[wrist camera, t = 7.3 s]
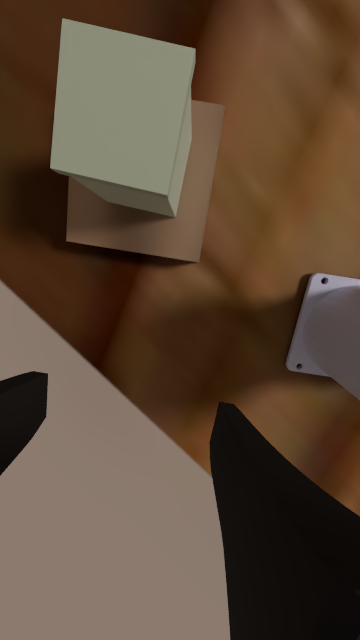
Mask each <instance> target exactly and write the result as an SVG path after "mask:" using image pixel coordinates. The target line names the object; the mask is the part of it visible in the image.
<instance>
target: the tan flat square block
mask: <svg viewBox="0 0 360 640" xmlns="http://www.w3.org/2000/svg"><path fill="white" fill-rule="evenodd" d="M225 106H226V105H220V104H214V103H207V102H201V101H195V100H191V123H192V140H191V145H190V150H189V155H188V160H187V164H186V169H185V174H184V179H183V184H182V189H181V194H180V199H179V204H178V208H177V213H176V217H171V216H167V215H163V214H158V213H154V212H150V211H145V210H141V209H137V208H132V207H128V206H124V205H119V204H115V203H111V202H107V201H106V200H104V199H103V198H101V197H100V196H98V195H97V194H96V193H94V192H93V191H91V190H90V189H88V188H87V187H85V186H84V185H83V184H81V183H80V182H78V181H77V180H75V179H74V178H72V177H71V176H69V187H68V211H67V235H66V241H69V242H75V243H81V244H87V245H93V246H99V247H105V248H112V249H118V250H124V251H130V252H136V253H143V254H149V255H155V256H161V257H167V258H174V259H180V260H186V261H192V262H199V259H200V253H201V247H202V241H203V235H204V229H205V223H206V218H207V212H208V206H209V200H210V194H211V188H212V182H213V176H214V171H215V165H216V159H217V153H218V147H219V141H220V135H221V129H222V124H223V118H224V112H225Z"/></svg>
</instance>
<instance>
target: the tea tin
mask: <svg viewBox="0 0 360 640" xmlns="http://www.w3.org/2000/svg"><path fill="white" fill-rule="evenodd" d="M194 67H195V49H194V48H189V47H185V46H181V45H176V44H172V43H168V42H163V41H159V40H155V39H150V38H146V37H142V36H137V35H133V34H129V33H124V32H120V31H115V30H111V29H107V28H102V27H98V26H94V25H89V24H85V23H81V22H76V21H72V20H68V19H63V18H62V29H61V41H60V54H59V66H58V78H57V90H56V103H55V115H54V127H53V139H52V152H51V164H50V168H51V169H52V170H54V171H55V172H57V173H59V174H63V175H67V176H71V177H72V178H74V179H75V180H77V181H78V182H80V183H81V184H83V185H84V186H85V187H87V188H88V189H90V190H91V191H93V192H94V193H96V194H97V195H98V196H100V197H101V198H103V199H104V200H106V201H107V202H111V203H115V204H119V205H124V206H128V207H132V208H137V209H141V210H145V211H150V212H154V213H158V214H163V215H167V216H171V217H176V213H177V208H178V204H179V199H180V194H181V189H182V184H183V179H184V174H185V169H186V164H187V160H188V155H189V150H190V145H191V140H192V123H191V82H192V77H193V72H194Z"/></svg>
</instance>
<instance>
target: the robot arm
mask: <svg viewBox="0 0 360 640" xmlns="http://www.w3.org/2000/svg"><path fill="white" fill-rule="evenodd" d="M322 278H325V283H323V284H322V283H321V280H322ZM297 364H301V365H300V367H296V366H297ZM286 367H287V368H288V369H289V370H290V371H295V372H302V373H308V374H315V375H321V376H328V377H332V378H333V379H334V380H335V381H336V382H338V383H339V384H340V385H341V386H343V387H344V388H345V389H346V390H348V391H349V392H350V393H351V394H352V395H354V396H355V397H356V398H357V399H359V400H360V279H354V278H347V277H341V276H335V275H328V274H322V273H314V274H312V275H311V276H310V278H309V281H308V285H307V288H306V292H305V296H304V299H303V303H302V306H301V310H300V314H299V317H298V321H297V324H296V328H295V331H294V335H293V339H292V342H291V346H290V349H289V353H288V357H287V360H286ZM47 385H48V374H46V373H40V372H35V371H33V372H28V373H24V374H21V375H18V376H14V377H11V378H8V379H5V380H2V381H0V475H1V474H2V473H3V472H4V471H5V469H6V468H7V467H8V466H9V465H10V464H11V463H12V461H13V460H14V459H15V458H16V457H17V456H18V454H19V453H20V452H21V451H22V450H23V448H24V447H25V446H26V445H27V444H28V442H29V441H30V440H31V439H32V437H33V436H34V434H35V433H36V432H37V430H38V428H39V427H40V425H41V424H42V422H43V421H44V419H45V418H46V408H47ZM210 462H211V472H212V478H213V484H214V490H215V496H216V502H217V508H218V514H219V520H220V525H221V532H222V540H223V546H224V558H225V571H226V582H227V596H228V608H229V609H228V610H229V623H230V639H231V640H360V516H358V515H357V514H355V513H354V512H352V511H351V510H350V509H348V508H347V507H345V506H344V505H343V504H341V503H340V502H339V501H337V500H336V499H334V498H333V497H332V496H330V495H329V494H328V493H326V492H325V491H324V490H322V489H321V488H320V487H319V486H317V485H316V484H315V483H313V482H312V481H311V480H310V479H309V478H307V477H306V476H305V475H304V474H303V473H302V472H300V471H299V470H298V469H297V468H296V467H294V466H293V465H292V464H291V463H290V462H289V461H288V460H287V459H286V458H285V457H284V456H282V455H281V454H280V453H279V452H278V451H277V450H276V449H275V448H274V447H273V446H272V445H271V444H270V443H269V442H268V441H267V440H266V439H265V438H264V437H263V436H262V435H261V433H260V432H259V431H258V430H257V429H256V428H255V427H254V426H253V425H252V424H251V422H250V421H249V420H248V419H247V418H246V417H245V416H244V415H243V414H242V412H241V411H240V410H239V409H238V408H237V407H236V406H235V405H234V404H230V403H224V402H219V405H218V409H217V413H216V418H215V422H214V426H213V430H212V435H211V439H210Z"/></svg>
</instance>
